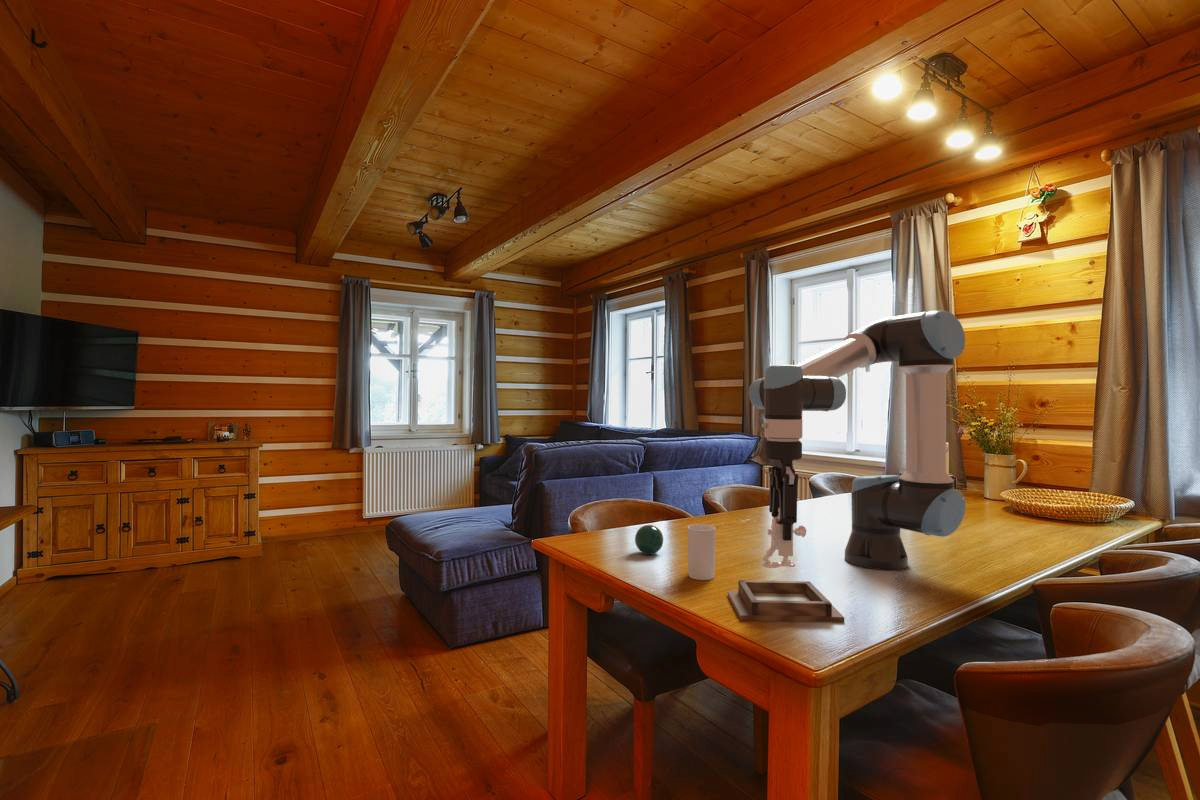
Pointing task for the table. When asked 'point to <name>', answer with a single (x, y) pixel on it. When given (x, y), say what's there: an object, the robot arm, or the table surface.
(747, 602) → the brown picture frame
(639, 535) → the sphere
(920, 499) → the robot arm
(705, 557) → the mug
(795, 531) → the figurine
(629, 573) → the table surface
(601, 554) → the table surface
